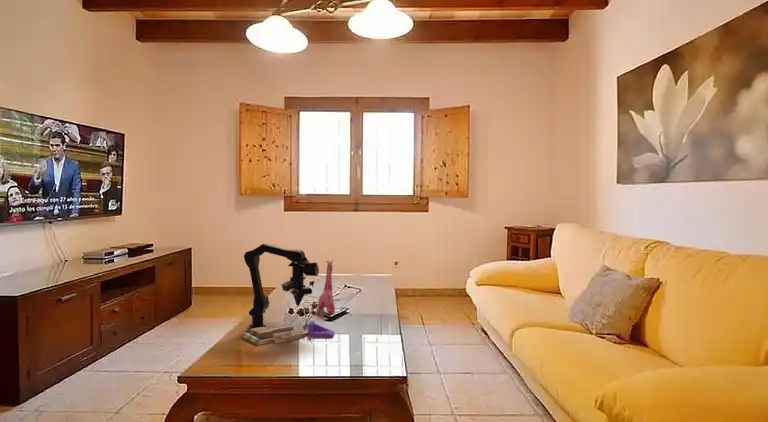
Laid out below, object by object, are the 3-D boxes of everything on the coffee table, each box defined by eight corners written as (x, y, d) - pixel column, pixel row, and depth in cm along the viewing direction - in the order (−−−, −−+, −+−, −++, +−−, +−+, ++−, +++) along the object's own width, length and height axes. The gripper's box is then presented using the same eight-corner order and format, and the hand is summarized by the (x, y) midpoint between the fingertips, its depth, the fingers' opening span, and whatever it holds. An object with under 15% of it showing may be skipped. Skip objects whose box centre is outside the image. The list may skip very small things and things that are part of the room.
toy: (337, 307, 347) (338, 257, 346) (329, 317, 322) (329, 263, 320) (323, 307, 348) (324, 257, 346) (314, 317, 322) (314, 263, 321)
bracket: (307, 338, 281) (308, 324, 280) (310, 334, 288) (310, 320, 287) (332, 338, 281) (332, 324, 280) (334, 334, 287) (334, 321, 287)
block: (250, 338, 279) (250, 328, 279) (263, 335, 284) (263, 326, 283) (259, 342, 271) (259, 333, 271) (273, 340, 276) (273, 331, 276)
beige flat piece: (241, 337, 280) (241, 331, 280) (292, 328, 297) (292, 323, 297) (260, 346, 265) (260, 340, 265) (311, 336, 282) (311, 331, 282)
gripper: (274, 274, 297) (274, 304, 298) (293, 279, 283) (293, 311, 284) (294, 272, 304) (293, 301, 305) (312, 277, 290) (312, 308, 290)
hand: (297, 305), depth 296 cm, fingers closed
